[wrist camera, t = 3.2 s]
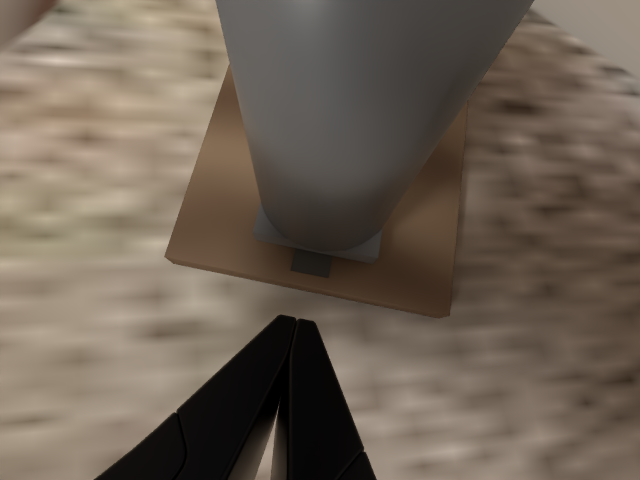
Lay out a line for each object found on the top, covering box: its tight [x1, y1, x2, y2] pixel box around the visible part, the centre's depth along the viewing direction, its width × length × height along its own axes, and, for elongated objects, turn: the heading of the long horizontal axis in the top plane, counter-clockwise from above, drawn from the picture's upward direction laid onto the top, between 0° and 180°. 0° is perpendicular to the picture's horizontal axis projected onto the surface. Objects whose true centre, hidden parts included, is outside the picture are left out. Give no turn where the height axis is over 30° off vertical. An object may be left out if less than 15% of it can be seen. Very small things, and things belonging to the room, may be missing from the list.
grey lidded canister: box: [216, 0, 534, 264], centre depth 10 cm, size 6×6×14 cm
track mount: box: [164, 64, 468, 318], centre depth 16 cm, size 15×12×5 cm
